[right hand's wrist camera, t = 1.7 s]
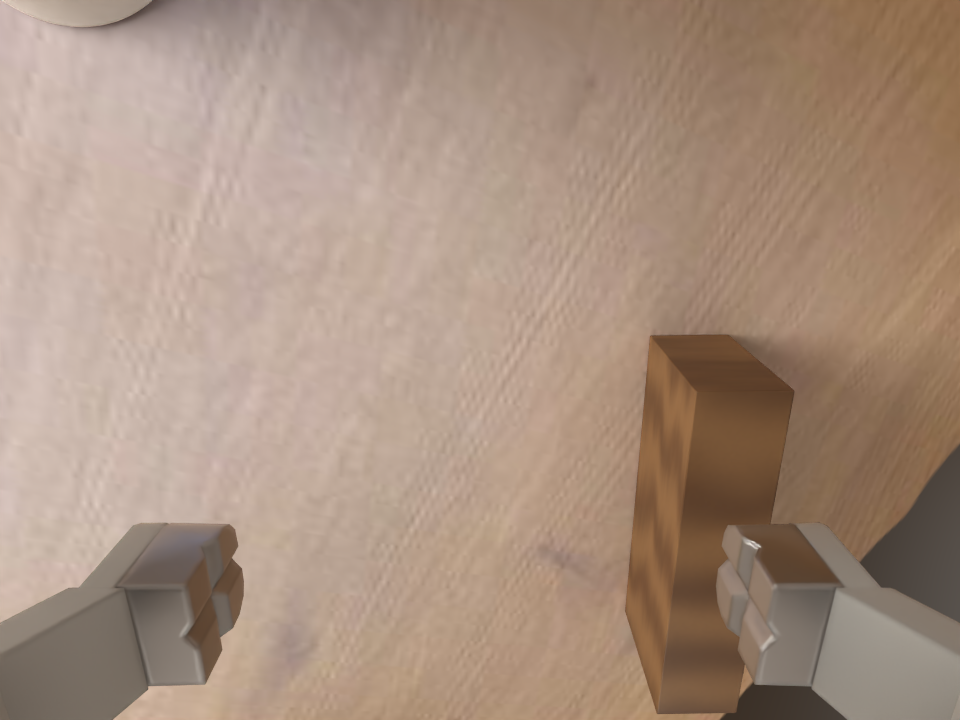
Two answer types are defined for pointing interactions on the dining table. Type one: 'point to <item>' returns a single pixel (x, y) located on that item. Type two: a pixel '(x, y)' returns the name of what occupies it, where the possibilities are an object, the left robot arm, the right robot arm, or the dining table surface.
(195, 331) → the dining table surface
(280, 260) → the dining table surface
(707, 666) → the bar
